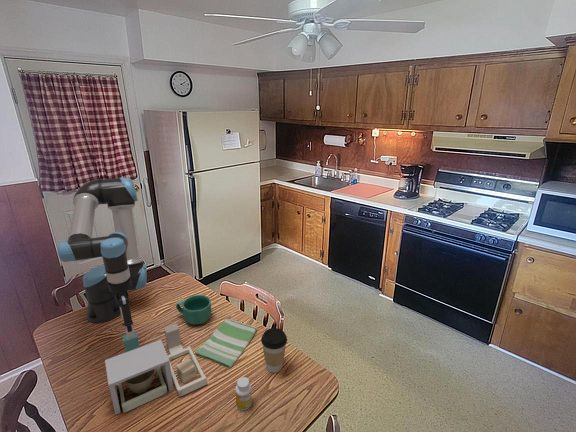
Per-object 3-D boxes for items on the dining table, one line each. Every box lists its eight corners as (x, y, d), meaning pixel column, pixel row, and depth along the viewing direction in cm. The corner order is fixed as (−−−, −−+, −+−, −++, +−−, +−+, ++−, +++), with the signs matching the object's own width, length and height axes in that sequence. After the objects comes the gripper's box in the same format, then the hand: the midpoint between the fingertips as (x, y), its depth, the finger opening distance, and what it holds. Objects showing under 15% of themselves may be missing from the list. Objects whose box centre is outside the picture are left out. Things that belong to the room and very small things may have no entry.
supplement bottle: (236, 396, 109) (235, 375, 106) (252, 395, 110) (251, 374, 107) (235, 411, 104) (234, 389, 101) (251, 410, 105) (251, 388, 102)
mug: (216, 313, 152) (215, 297, 149) (203, 330, 141) (201, 313, 138) (186, 307, 156) (184, 291, 153) (171, 323, 145) (169, 306, 142)
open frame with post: (160, 347, 130) (157, 329, 127) (184, 338, 136) (182, 321, 132) (179, 397, 108) (176, 377, 105) (207, 384, 114) (205, 365, 111)
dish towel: (193, 355, 127) (192, 350, 127) (225, 321, 148) (225, 316, 147) (230, 369, 121) (230, 364, 120) (259, 331, 141) (258, 327, 140)
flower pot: (146, 402, 107) (143, 386, 104) (120, 396, 109) (116, 381, 106) (162, 378, 116) (160, 363, 114) (138, 374, 118) (135, 359, 115)
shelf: (111, 388, 112) (104, 360, 107) (165, 366, 121) (161, 339, 117) (115, 414, 102) (108, 385, 98) (173, 388, 112) (169, 360, 108)
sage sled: (113, 358, 124) (109, 339, 121) (150, 344, 132) (147, 326, 129) (123, 413, 103) (118, 392, 100) (167, 392, 110) (164, 373, 107)
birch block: (177, 375, 118) (176, 365, 116) (189, 368, 121) (188, 358, 119) (183, 383, 114) (182, 373, 112) (196, 376, 117) (195, 366, 116)
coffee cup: (290, 360, 125) (290, 330, 120) (281, 379, 116) (281, 347, 111) (267, 354, 128) (267, 324, 123) (257, 372, 119) (256, 341, 114)
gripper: (104, 268, 122) (113, 313, 129) (111, 299, 103) (121, 350, 110) (125, 263, 126) (133, 307, 133) (136, 292, 107) (144, 342, 114)
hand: (128, 327), depth 122 cm, fingers open, 13 cm apart
